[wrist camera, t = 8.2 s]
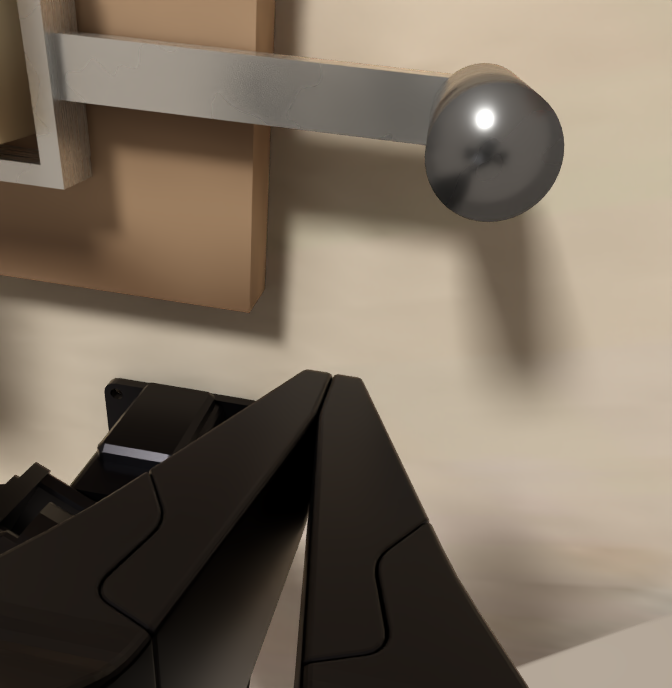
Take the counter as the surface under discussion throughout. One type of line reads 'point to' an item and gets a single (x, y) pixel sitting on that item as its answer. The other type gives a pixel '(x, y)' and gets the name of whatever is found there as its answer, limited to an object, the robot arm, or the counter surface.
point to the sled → (288, 108)
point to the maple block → (13, 78)
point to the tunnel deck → (155, 180)
